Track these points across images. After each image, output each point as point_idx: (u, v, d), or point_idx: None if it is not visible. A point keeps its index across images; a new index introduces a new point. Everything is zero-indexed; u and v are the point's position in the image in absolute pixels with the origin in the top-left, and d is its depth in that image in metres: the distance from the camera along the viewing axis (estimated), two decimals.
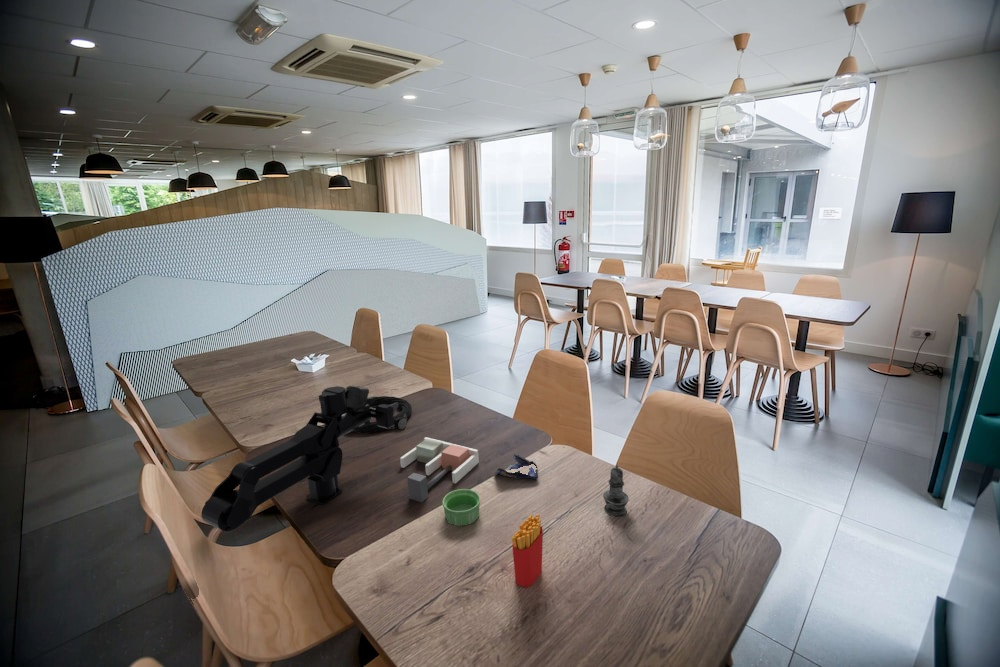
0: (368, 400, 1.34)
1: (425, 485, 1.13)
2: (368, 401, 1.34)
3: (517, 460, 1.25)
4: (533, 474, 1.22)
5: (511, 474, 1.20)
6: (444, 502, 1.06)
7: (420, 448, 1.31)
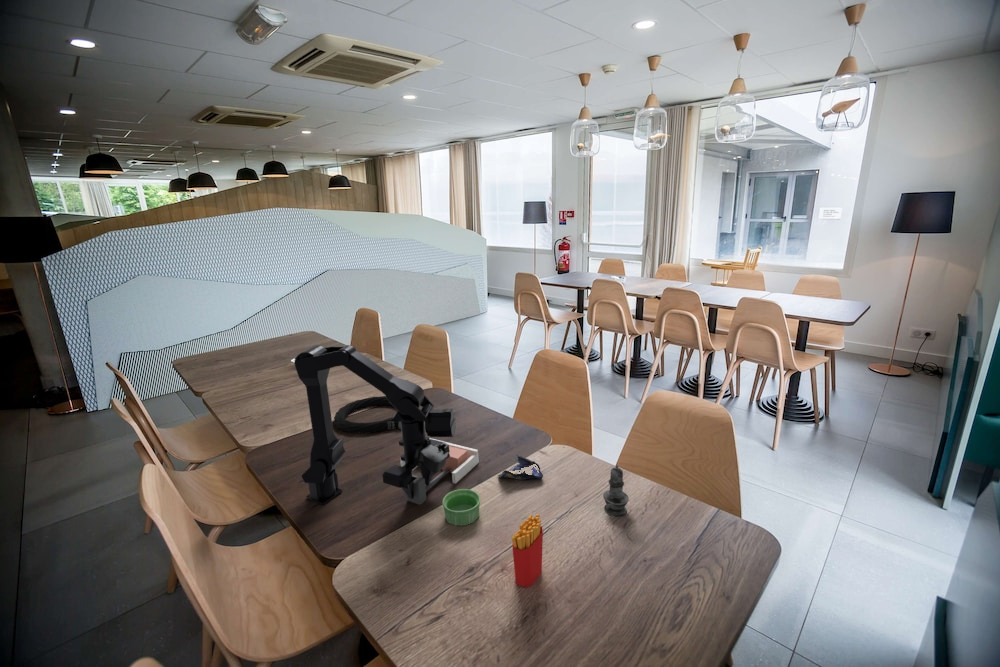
0: (427, 476, 1.16)
1: (423, 487, 1.12)
2: (426, 476, 1.16)
3: (519, 461, 1.25)
4: (537, 474, 1.22)
5: (516, 475, 1.19)
6: (444, 502, 1.06)
7: None
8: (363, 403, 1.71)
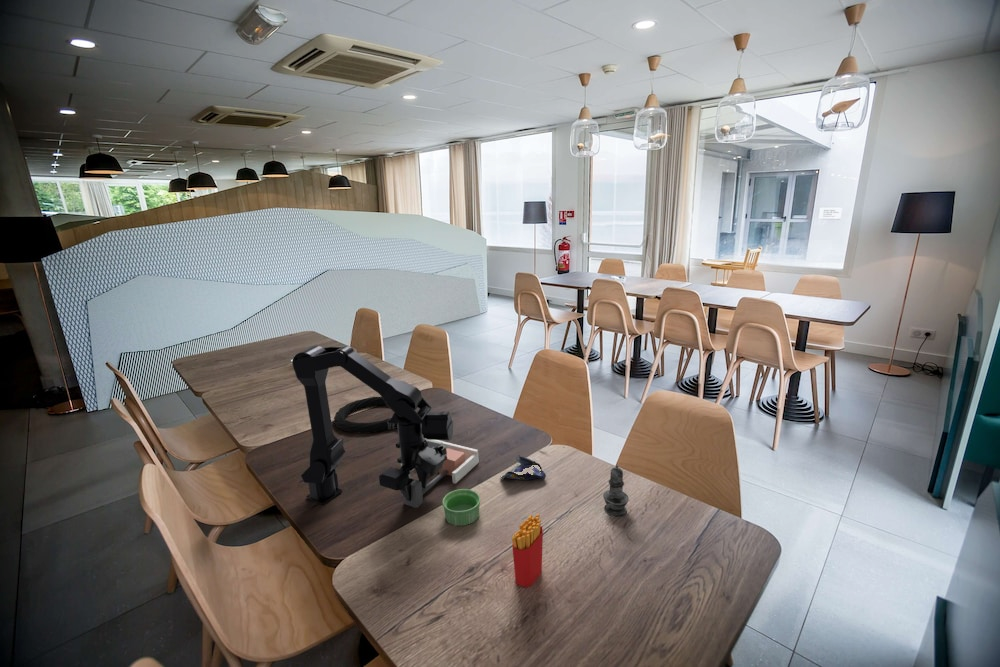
0: (424, 479, 1.15)
1: (420, 490, 1.11)
2: (423, 479, 1.15)
3: (521, 461, 1.24)
4: (540, 474, 1.22)
5: (520, 476, 1.19)
6: (444, 502, 1.06)
7: None
8: (363, 403, 1.71)
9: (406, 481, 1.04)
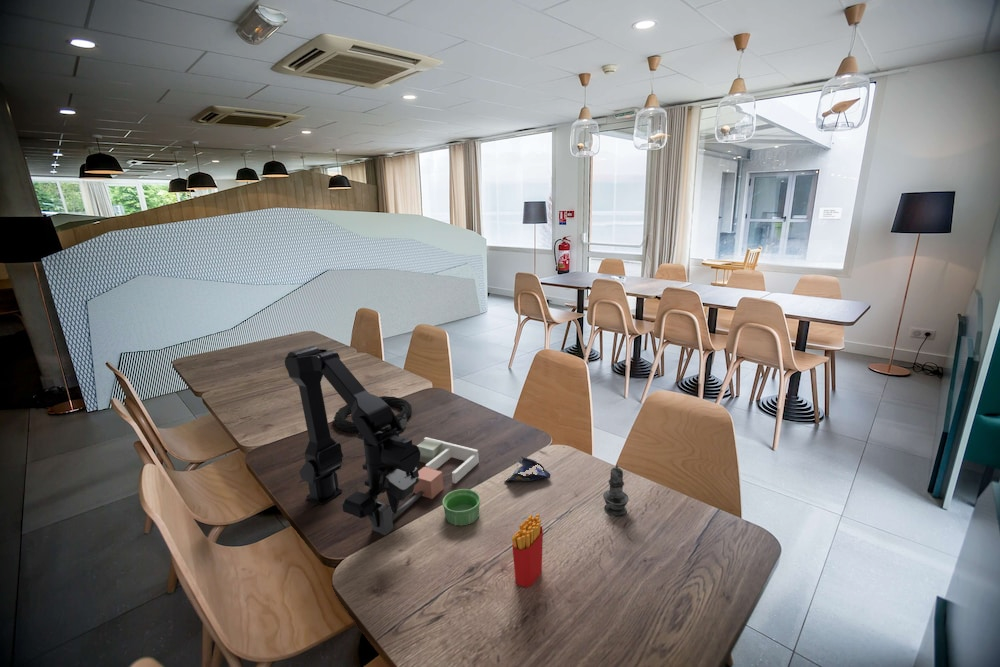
0: (395, 503, 1.05)
1: (390, 516, 1.02)
2: (394, 502, 1.06)
3: (523, 463, 1.24)
4: (544, 473, 1.22)
5: (525, 477, 1.18)
6: (444, 502, 1.06)
7: (420, 448, 1.30)
8: None
9: (372, 507, 0.95)
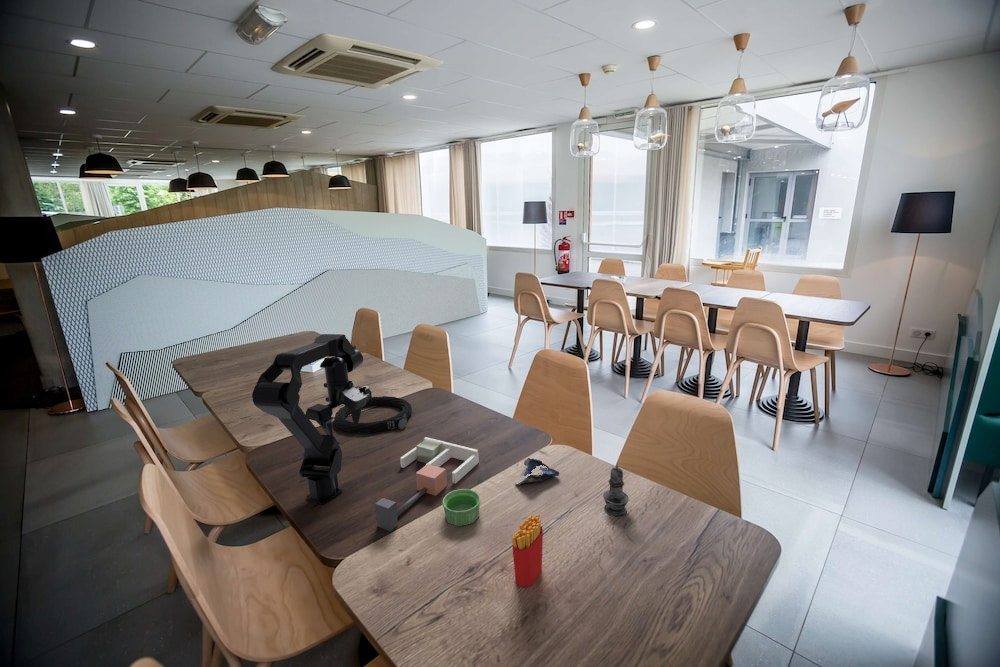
0: (356, 416, 1.29)
1: (394, 512, 1.03)
2: (355, 416, 1.29)
3: (529, 464, 1.23)
4: (551, 472, 1.22)
5: (537, 478, 1.18)
6: (444, 502, 1.06)
7: (420, 448, 1.31)
8: None
9: (329, 415, 1.17)
